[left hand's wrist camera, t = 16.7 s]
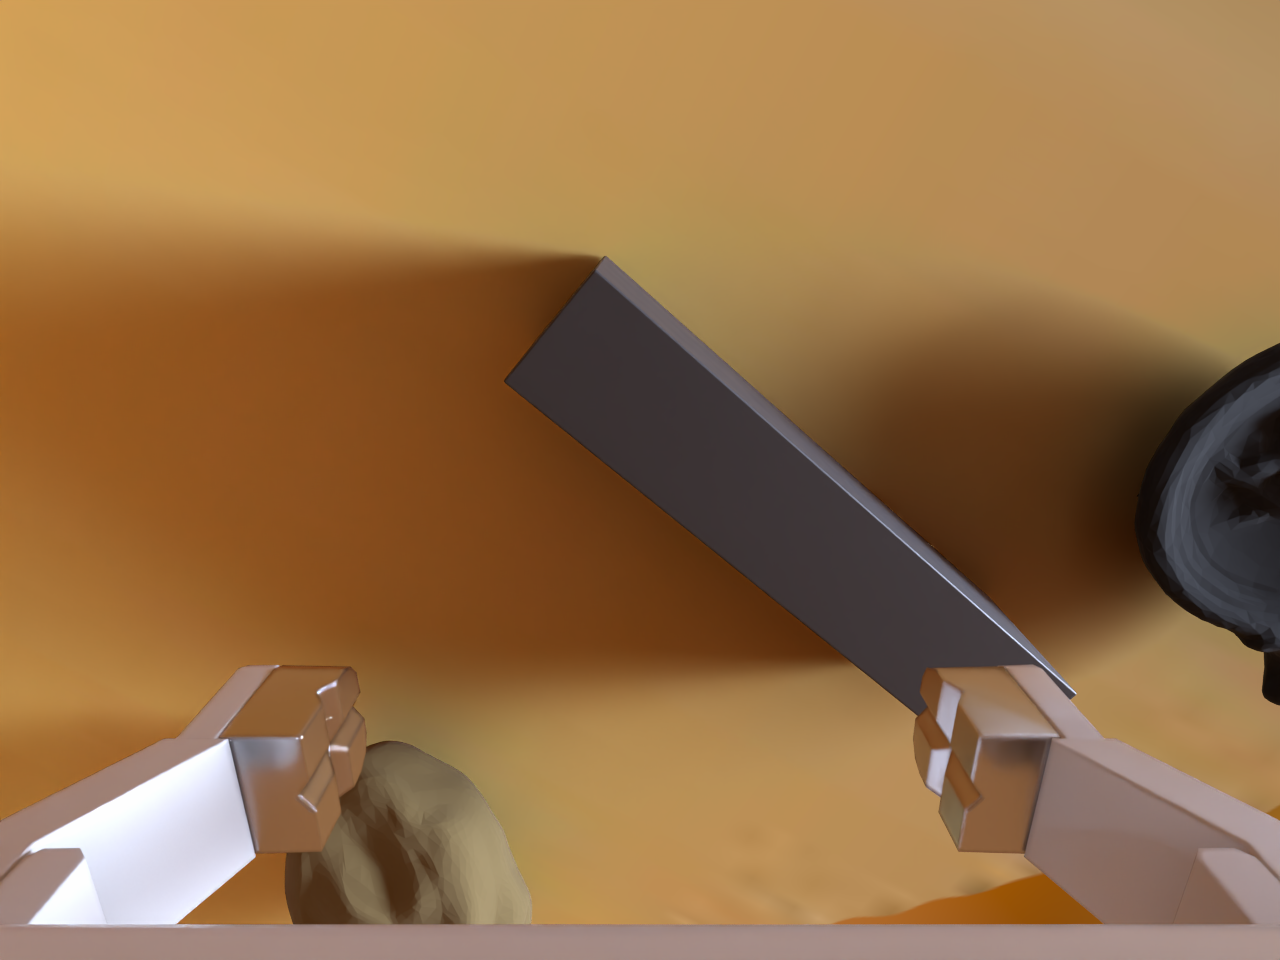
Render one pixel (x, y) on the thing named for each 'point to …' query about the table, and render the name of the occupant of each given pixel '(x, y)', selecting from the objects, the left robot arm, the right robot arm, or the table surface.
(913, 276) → the table surface
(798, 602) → the bar
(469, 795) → the decorative stone
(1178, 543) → the oil lamp
